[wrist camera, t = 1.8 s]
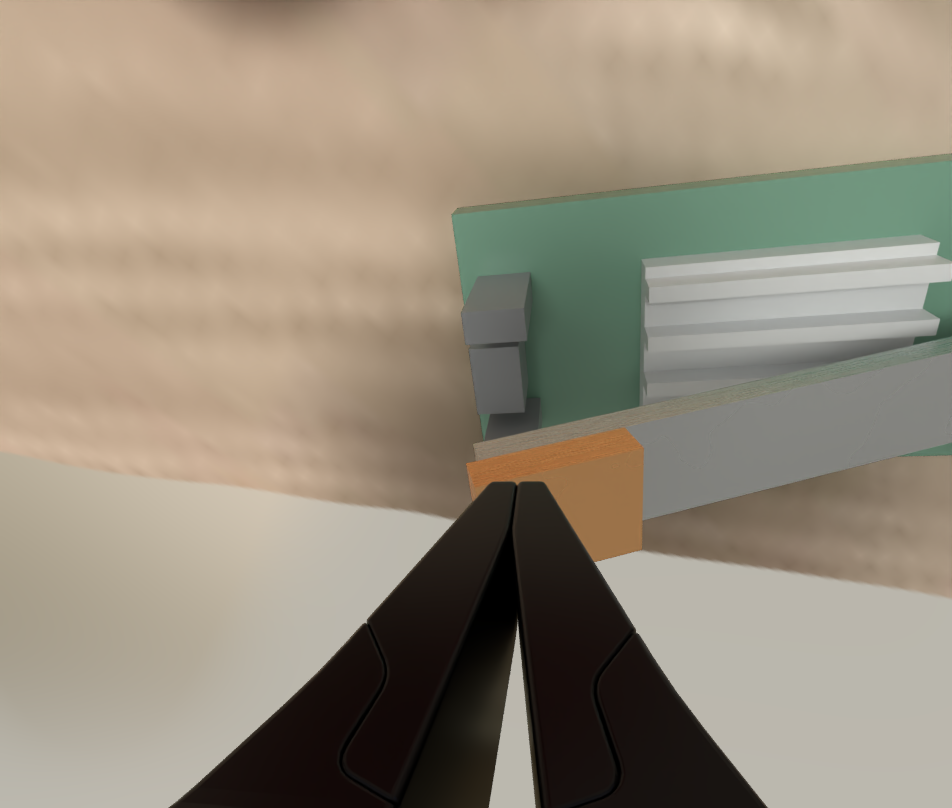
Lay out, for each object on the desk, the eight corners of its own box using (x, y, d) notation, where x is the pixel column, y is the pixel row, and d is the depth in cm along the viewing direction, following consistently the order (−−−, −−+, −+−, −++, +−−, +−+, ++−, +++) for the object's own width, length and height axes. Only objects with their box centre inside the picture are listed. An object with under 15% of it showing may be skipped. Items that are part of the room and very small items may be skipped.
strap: (1110, 284, 15) (1209, 304, 13) (1063, 395, 16) (1145, 427, 15) (455, 427, 13) (472, 475, 11) (474, 541, 14) (492, 598, 12)
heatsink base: (1113, 135, 16) (1352, 154, 11) (1000, 435, 20) (1133, 538, 16) (457, 208, 19) (422, 246, 14) (490, 450, 24) (472, 540, 19)
